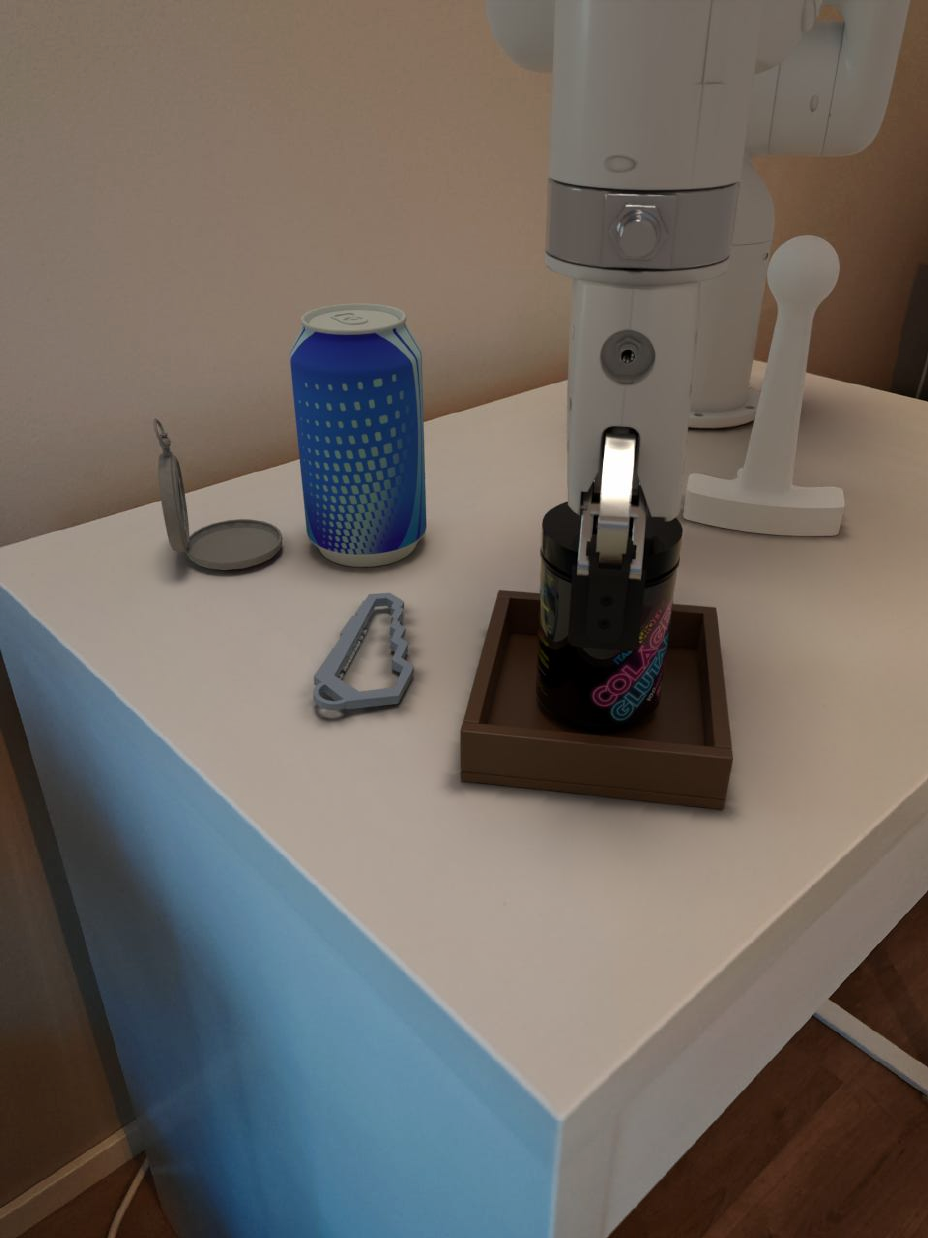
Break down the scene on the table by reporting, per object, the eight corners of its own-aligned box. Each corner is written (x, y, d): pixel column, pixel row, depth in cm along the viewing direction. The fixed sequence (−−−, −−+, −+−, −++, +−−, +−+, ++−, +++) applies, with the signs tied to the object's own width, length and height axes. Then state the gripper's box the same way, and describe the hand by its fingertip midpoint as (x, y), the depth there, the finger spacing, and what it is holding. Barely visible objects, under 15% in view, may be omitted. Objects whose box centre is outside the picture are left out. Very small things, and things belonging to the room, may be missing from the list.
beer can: (433, 520, 72) (429, 300, 63) (418, 575, 65) (410, 335, 56) (323, 516, 73) (303, 298, 64) (295, 569, 65) (269, 332, 57)
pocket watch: (302, 551, 68) (288, 414, 63) (200, 595, 63) (175, 450, 57) (233, 516, 73) (215, 386, 67) (133, 555, 67) (105, 417, 62)
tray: (497, 633, 59) (498, 589, 57) (709, 651, 57) (716, 606, 55) (460, 781, 47) (459, 731, 46) (724, 810, 45) (733, 759, 44)
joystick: (681, 524, 71) (718, 237, 61) (688, 484, 77) (722, 217, 67) (839, 541, 69) (906, 246, 58) (834, 498, 75) (893, 224, 64)
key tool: (440, 614, 61) (364, 600, 61) (441, 602, 60) (364, 588, 61) (391, 730, 51) (301, 712, 52) (392, 716, 50) (301, 698, 51)
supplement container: (565, 752, 48) (577, 568, 43) (514, 678, 54) (519, 506, 48) (684, 724, 50) (710, 544, 45) (623, 655, 55) (640, 488, 50)
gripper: (751, 279, 31) (688, 706, 41) (720, 197, 46) (678, 525, 55) (522, 271, 32) (510, 690, 42) (562, 193, 47) (547, 516, 56)
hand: (606, 595), depth 48 cm, fingers open, 8 cm apart
